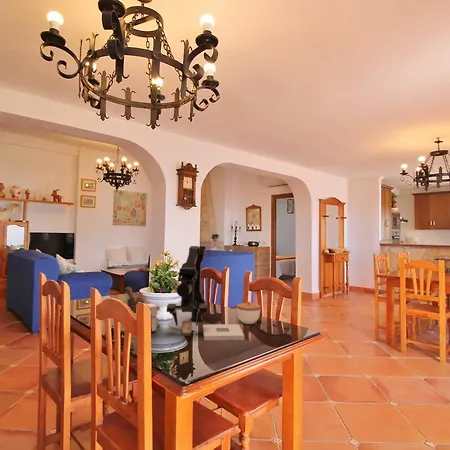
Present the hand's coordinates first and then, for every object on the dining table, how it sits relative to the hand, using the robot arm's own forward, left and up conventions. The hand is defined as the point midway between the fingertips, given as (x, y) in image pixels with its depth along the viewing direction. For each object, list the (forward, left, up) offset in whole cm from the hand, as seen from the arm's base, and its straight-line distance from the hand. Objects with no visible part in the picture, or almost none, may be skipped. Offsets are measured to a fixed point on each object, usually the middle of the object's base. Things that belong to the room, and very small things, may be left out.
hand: (186, 326), depth 153 cm
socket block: (0, +17, -4) cm, 17 cm away
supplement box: (-5, -19, -4) cm, 20 cm away
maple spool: (0, 0, -4) cm, 4 cm away
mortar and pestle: (-17, -27, -4) cm, 32 cm away
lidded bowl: (-20, +33, -4) cm, 39 cm away
